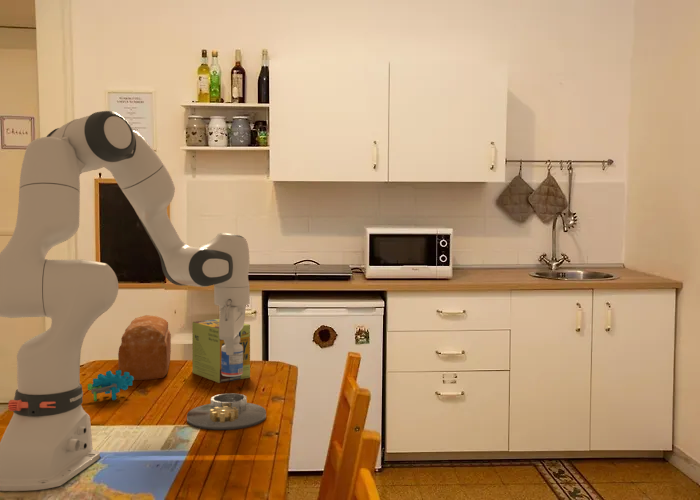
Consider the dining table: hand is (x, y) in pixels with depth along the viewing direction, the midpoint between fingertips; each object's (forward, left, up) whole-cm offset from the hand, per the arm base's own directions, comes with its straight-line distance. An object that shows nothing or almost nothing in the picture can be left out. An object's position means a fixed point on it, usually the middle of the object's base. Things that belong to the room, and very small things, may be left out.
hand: (232, 351), depth 173 cm
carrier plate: (-15, -1, -12) cm, 20 cm away
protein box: (+26, +6, -13) cm, 29 cm away
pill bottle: (0, 0, -6) cm, 6 cm away
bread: (+33, +30, -13) cm, 46 cm away
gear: (+4, +30, -13) cm, 33 cm away
